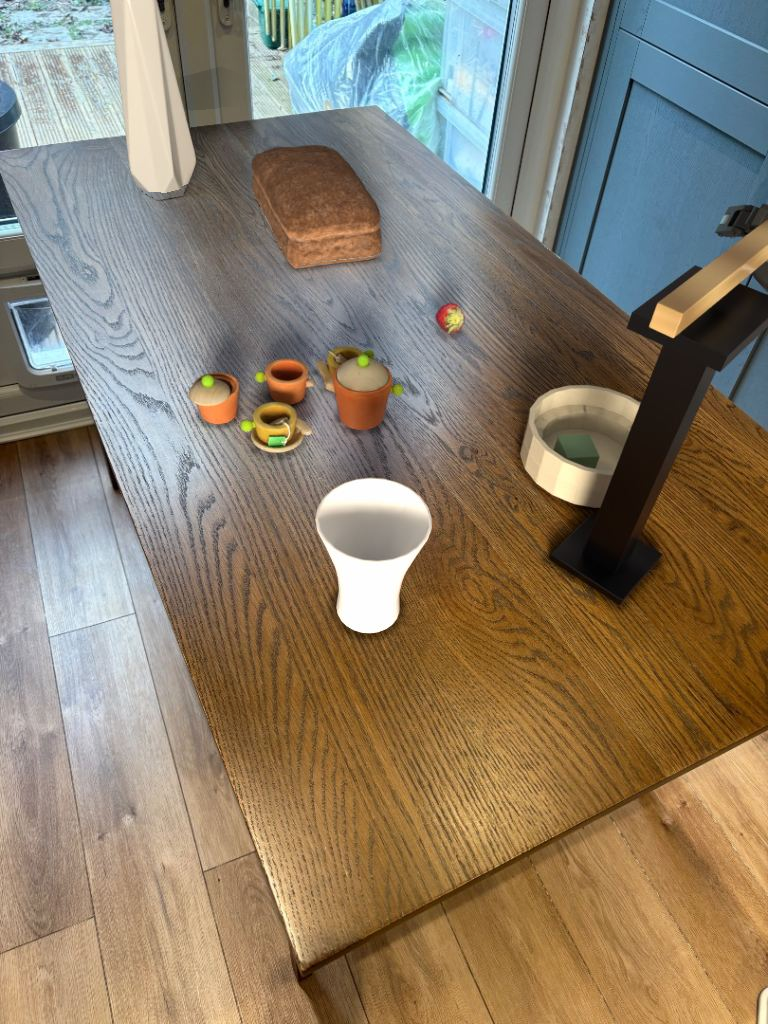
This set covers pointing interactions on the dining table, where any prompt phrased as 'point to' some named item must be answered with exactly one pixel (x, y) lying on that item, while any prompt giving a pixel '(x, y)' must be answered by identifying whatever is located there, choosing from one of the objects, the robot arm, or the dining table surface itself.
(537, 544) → the dining table surface
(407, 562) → the cup
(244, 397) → the dining table surface
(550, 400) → the bowl
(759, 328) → the stand
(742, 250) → the rectangular bar
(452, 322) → the fruit
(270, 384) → the toy tea set
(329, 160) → the bread
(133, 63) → the vase
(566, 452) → the block
